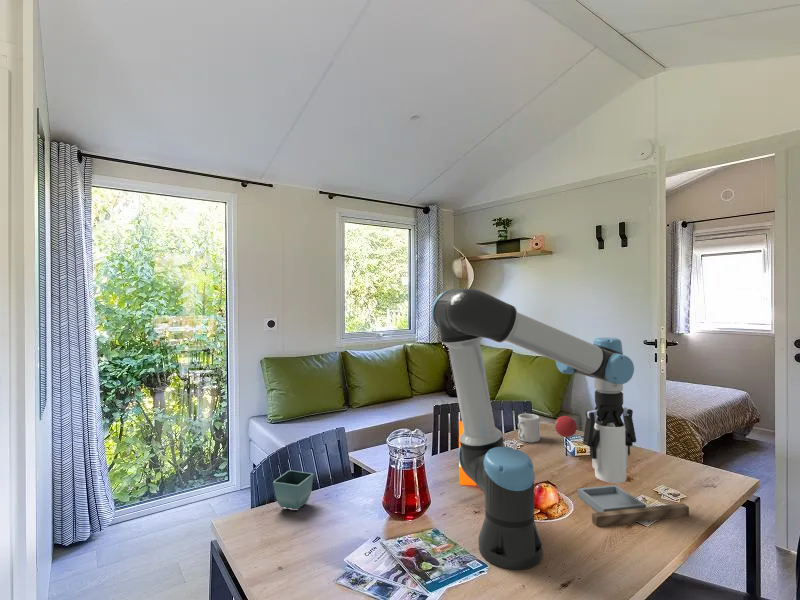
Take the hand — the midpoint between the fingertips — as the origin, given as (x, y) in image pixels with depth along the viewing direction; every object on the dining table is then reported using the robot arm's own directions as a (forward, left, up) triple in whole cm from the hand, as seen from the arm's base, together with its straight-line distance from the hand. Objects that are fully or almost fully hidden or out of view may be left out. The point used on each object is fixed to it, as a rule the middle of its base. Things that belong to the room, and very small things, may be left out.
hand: (610, 467), depth 128 cm
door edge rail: (+3, -9, -11) cm, 14 cm away
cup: (0, 0, -3) cm, 3 cm away
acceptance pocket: (0, 0, -11) cm, 11 cm away
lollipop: (+8, +38, -11) cm, 40 cm away
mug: (+1, +57, -11) cm, 58 cm away
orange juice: (-34, +24, -11) cm, 43 cm away
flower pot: (-92, +17, -11) cm, 94 cm away
